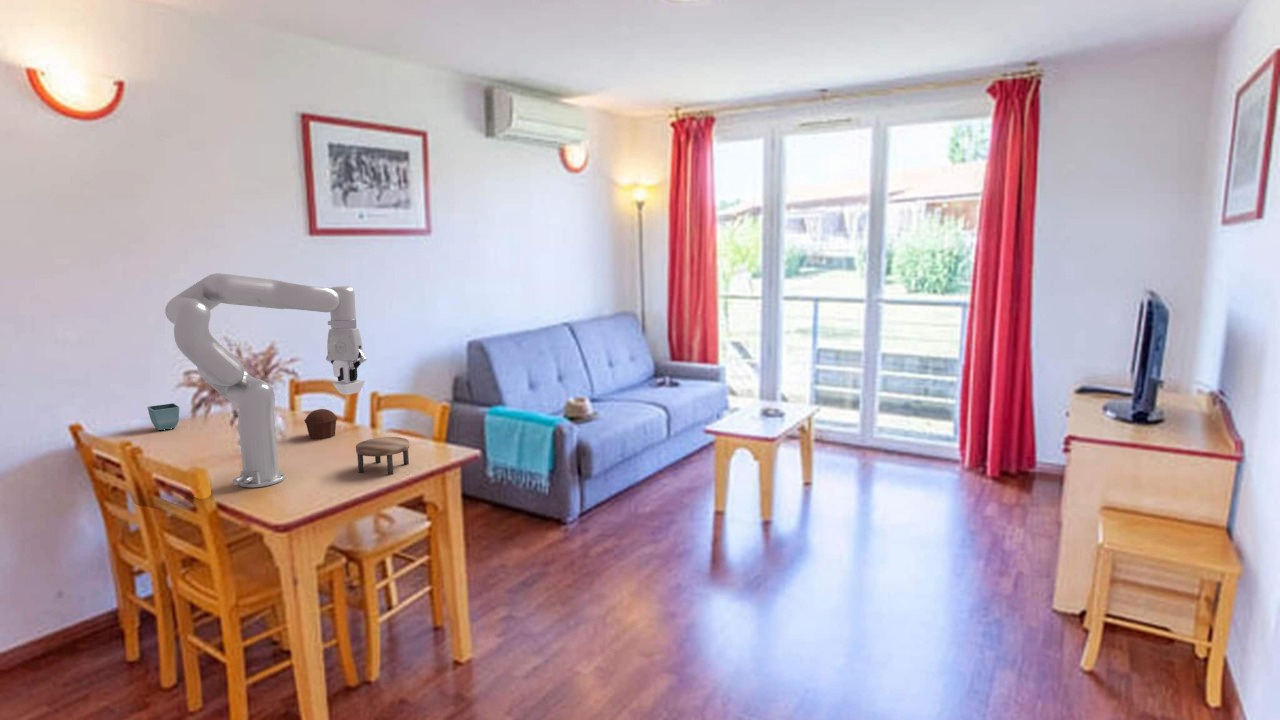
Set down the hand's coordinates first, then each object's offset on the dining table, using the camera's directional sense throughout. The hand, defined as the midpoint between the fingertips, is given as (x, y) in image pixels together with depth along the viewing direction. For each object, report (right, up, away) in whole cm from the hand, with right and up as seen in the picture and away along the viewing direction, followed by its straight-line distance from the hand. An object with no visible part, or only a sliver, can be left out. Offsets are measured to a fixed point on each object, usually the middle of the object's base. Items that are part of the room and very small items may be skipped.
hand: (347, 380), depth 229 cm
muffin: (-23, -22, +32) cm, 45 cm away
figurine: (0, -4, +1) cm, 5 cm away
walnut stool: (+13, -28, -4) cm, 32 cm away
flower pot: (-87, -20, +41) cm, 99 cm away
